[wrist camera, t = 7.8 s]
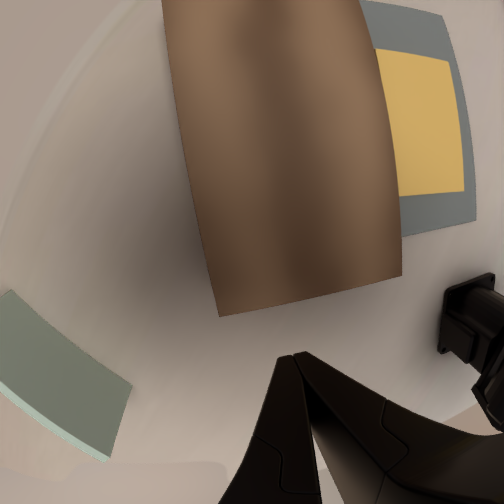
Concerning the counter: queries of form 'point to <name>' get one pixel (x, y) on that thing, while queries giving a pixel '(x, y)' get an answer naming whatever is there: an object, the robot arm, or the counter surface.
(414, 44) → the mat
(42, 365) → the right angle wall
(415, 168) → the yellow flat block
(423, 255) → the counter surface
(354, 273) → the brown flat block
